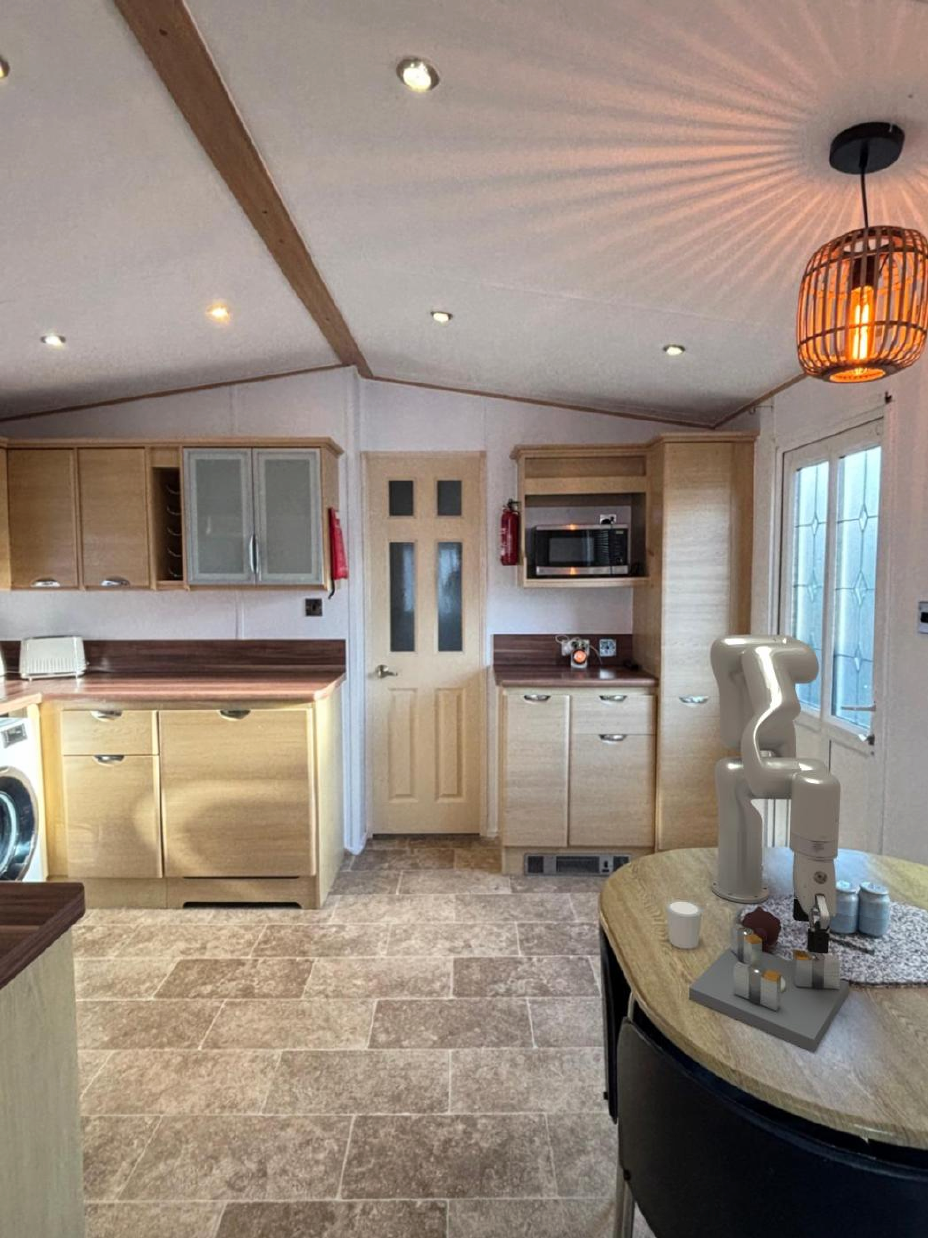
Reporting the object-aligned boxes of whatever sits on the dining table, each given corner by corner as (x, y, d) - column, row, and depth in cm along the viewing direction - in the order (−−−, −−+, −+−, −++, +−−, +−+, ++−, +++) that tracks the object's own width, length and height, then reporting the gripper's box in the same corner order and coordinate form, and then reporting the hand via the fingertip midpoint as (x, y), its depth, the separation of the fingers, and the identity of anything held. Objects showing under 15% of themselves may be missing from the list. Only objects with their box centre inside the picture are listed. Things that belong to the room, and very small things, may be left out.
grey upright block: (728, 949, 129) (728, 922, 129) (741, 947, 130) (742, 920, 129) (749, 969, 122) (749, 941, 122) (763, 968, 123) (763, 940, 122)
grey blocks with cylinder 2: (833, 980, 119) (834, 951, 118) (840, 990, 116) (840, 960, 115) (791, 978, 119) (791, 949, 119) (797, 987, 117) (797, 958, 116)
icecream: (736, 892, 143) (738, 933, 129) (773, 889, 141) (779, 931, 127) (744, 923, 144) (747, 967, 130) (782, 920, 141) (789, 965, 127)
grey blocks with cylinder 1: (732, 994, 115) (732, 964, 115) (738, 987, 117) (739, 957, 117) (775, 1012, 110) (775, 980, 110) (781, 1004, 112) (781, 973, 112)
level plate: (734, 951, 132) (734, 935, 132) (848, 993, 119) (849, 975, 118) (689, 998, 118) (689, 980, 118) (813, 1052, 104) (813, 1031, 104)
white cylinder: (704, 952, 132) (704, 917, 132) (667, 949, 134) (667, 914, 133) (699, 934, 139) (699, 901, 139) (664, 931, 140) (664, 898, 140)
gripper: (853, 868, 108) (849, 968, 110) (822, 824, 125) (819, 912, 127) (802, 864, 110) (799, 962, 112) (778, 821, 127) (776, 908, 129)
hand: (809, 935), depth 119 cm, fingers open, 9 cm apart
